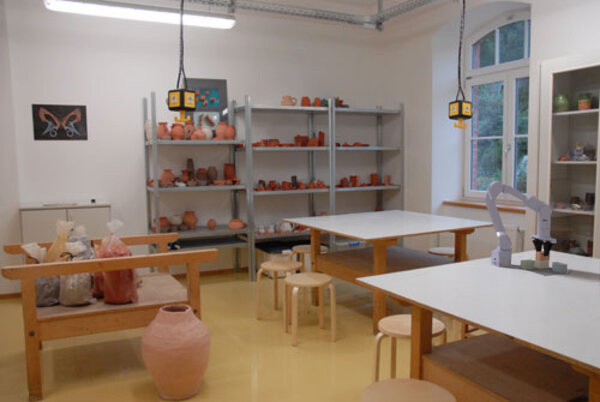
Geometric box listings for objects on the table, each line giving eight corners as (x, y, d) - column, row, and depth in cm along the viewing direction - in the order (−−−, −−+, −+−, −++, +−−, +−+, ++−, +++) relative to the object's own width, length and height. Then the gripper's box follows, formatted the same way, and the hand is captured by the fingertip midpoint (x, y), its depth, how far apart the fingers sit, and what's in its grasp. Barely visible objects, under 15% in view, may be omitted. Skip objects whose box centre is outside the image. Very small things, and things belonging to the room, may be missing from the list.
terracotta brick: (540, 260, 246) (540, 252, 245) (535, 259, 248) (535, 251, 248) (549, 259, 248) (549, 252, 247) (544, 258, 250) (545, 250, 250)
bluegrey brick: (566, 272, 238) (567, 264, 238) (562, 273, 237) (562, 264, 237) (556, 269, 244) (557, 261, 243) (552, 270, 243) (552, 262, 242)
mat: (545, 277, 232) (545, 275, 232) (518, 268, 248) (518, 267, 248) (570, 274, 236) (570, 273, 236) (542, 266, 252) (542, 265, 252)
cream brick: (539, 268, 246) (539, 260, 246) (534, 267, 249) (535, 259, 248) (548, 267, 248) (549, 259, 247) (544, 266, 251) (544, 258, 250)
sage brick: (524, 269, 244) (525, 261, 244) (520, 268, 247) (520, 260, 247) (534, 268, 246) (534, 260, 246) (530, 267, 249) (530, 259, 249)
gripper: (561, 229, 241) (560, 257, 242) (539, 225, 254) (537, 251, 256) (550, 230, 239) (549, 258, 240) (527, 226, 252) (526, 252, 254)
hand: (542, 255), depth 248 cm, fingers open, 4 cm apart
